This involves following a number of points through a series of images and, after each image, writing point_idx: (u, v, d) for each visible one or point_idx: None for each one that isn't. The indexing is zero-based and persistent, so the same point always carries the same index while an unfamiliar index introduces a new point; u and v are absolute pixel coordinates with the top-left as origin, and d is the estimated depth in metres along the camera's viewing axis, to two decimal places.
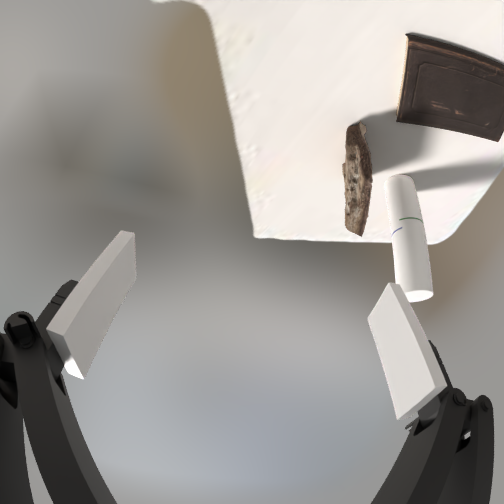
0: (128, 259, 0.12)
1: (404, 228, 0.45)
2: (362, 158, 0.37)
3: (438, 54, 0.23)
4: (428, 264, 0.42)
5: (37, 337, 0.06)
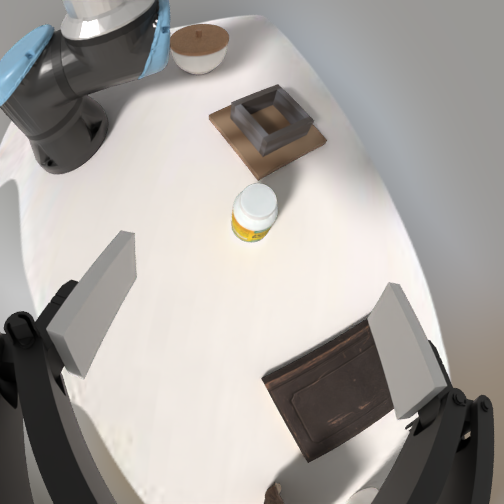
0: (128, 259, 0.12)
1: None
2: None
3: (301, 375, 0.34)
4: None
5: (37, 337, 0.06)
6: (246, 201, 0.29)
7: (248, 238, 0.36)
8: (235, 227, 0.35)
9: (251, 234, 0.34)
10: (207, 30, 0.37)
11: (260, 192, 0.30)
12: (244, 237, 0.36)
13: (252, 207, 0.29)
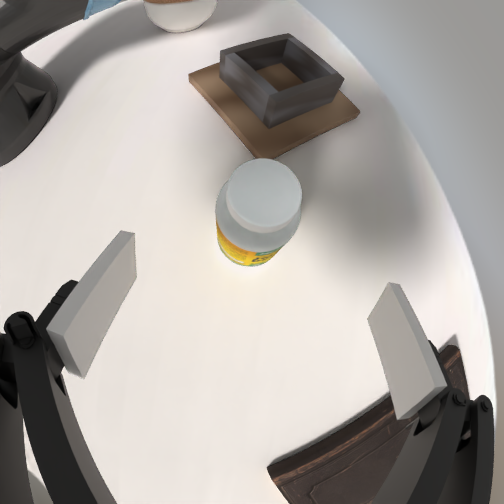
0: (128, 259, 0.12)
1: None
2: None
3: (326, 463, 0.18)
4: None
5: (37, 337, 0.06)
6: (238, 194, 0.14)
7: (245, 262, 0.20)
8: (222, 243, 0.19)
9: (250, 256, 0.18)
10: None
11: (268, 176, 0.14)
12: (238, 260, 0.20)
13: (252, 206, 0.14)
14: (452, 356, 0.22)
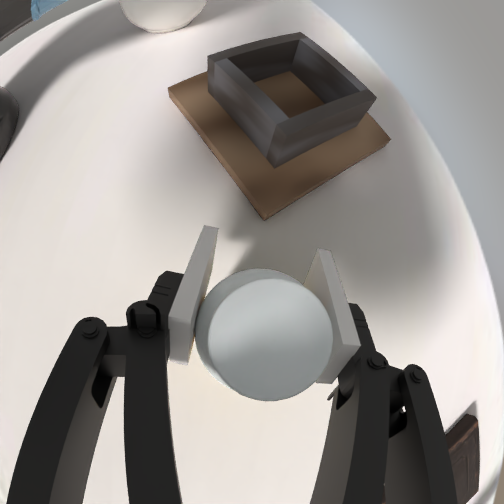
0: (213, 252, 0.14)
1: None
2: None
3: None
4: None
5: (160, 329, 0.08)
6: (227, 352, 0.08)
7: None
8: None
9: None
10: None
11: (278, 315, 0.08)
12: None
13: (250, 372, 0.08)
14: (469, 429, 0.15)
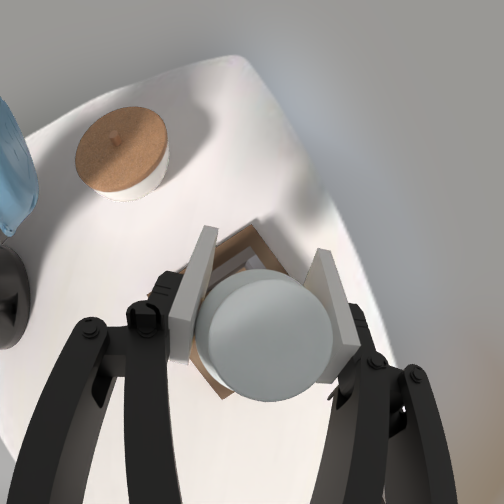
0: (213, 252, 0.14)
1: None
2: None
3: None
4: None
5: (160, 329, 0.08)
6: (227, 353, 0.08)
7: None
8: None
9: None
10: (132, 124, 0.25)
11: (278, 316, 0.08)
12: None
13: (250, 372, 0.08)
14: None
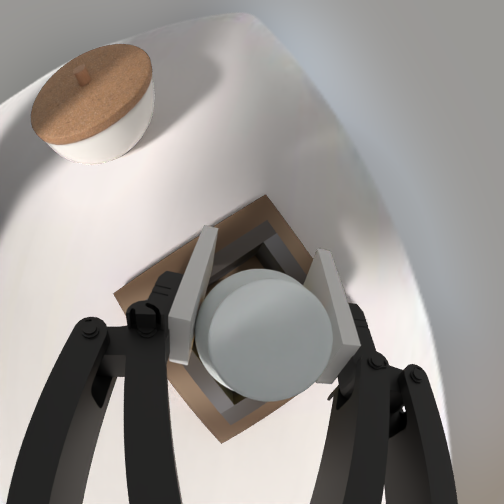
0: (213, 252, 0.14)
1: None
2: None
3: None
4: None
5: (159, 329, 0.08)
6: (227, 353, 0.08)
7: None
8: None
9: None
10: (107, 61, 0.16)
11: (278, 316, 0.08)
12: None
13: (250, 372, 0.08)
14: None
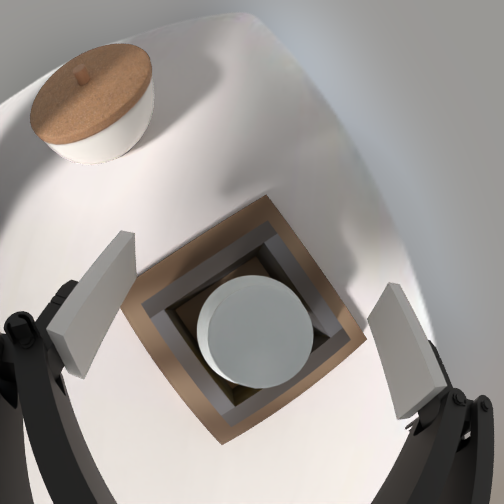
0: (128, 259, 0.12)
1: None
2: None
3: None
4: None
5: (37, 337, 0.06)
6: (223, 346, 0.10)
7: None
8: None
9: None
10: (106, 60, 0.15)
11: (266, 316, 0.10)
12: None
13: (243, 363, 0.10)
14: None
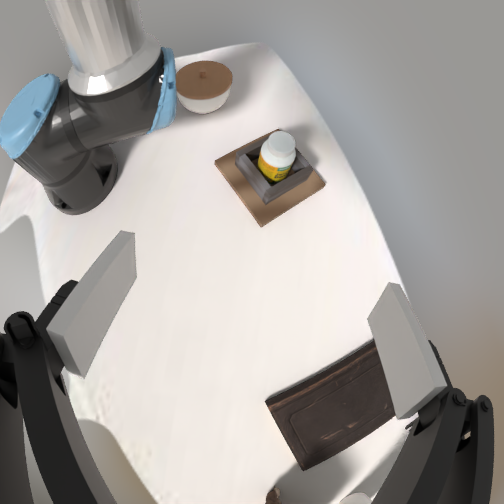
0: (128, 259, 0.12)
1: None
2: None
3: (298, 399, 0.38)
4: None
5: (37, 337, 0.06)
6: (272, 142, 0.37)
7: (271, 178, 0.43)
8: (261, 168, 0.42)
9: (274, 172, 0.41)
10: (210, 68, 0.42)
11: (283, 137, 0.37)
12: (268, 178, 0.43)
13: (277, 146, 0.37)
14: None
